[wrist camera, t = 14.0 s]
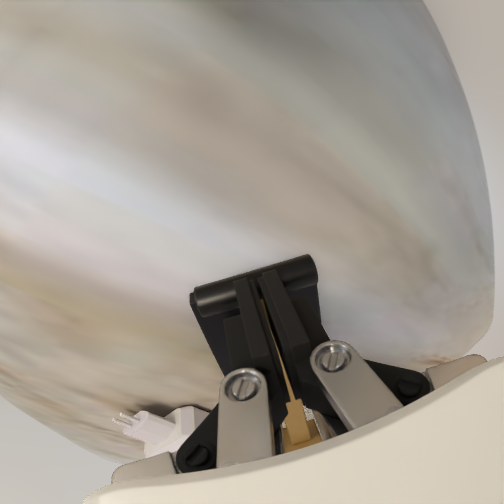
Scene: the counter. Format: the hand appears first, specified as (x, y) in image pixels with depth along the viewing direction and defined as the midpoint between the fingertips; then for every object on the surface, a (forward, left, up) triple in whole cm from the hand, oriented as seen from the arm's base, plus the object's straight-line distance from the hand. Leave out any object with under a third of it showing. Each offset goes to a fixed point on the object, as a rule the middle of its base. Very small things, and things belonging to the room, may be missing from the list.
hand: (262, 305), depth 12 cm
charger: (+24, -5, -9) cm, 26 cm away
